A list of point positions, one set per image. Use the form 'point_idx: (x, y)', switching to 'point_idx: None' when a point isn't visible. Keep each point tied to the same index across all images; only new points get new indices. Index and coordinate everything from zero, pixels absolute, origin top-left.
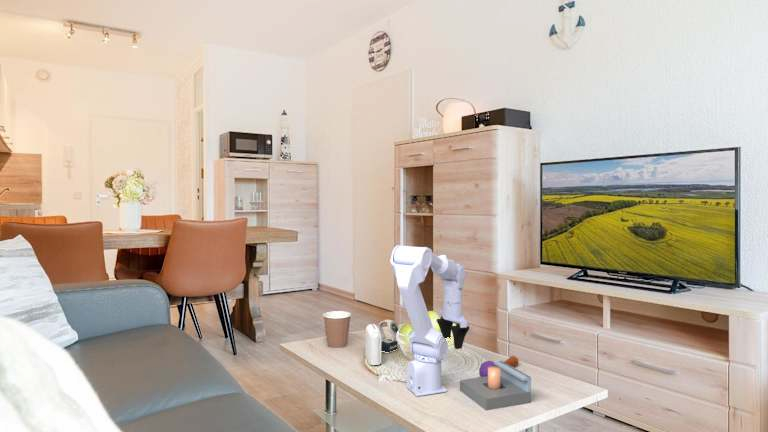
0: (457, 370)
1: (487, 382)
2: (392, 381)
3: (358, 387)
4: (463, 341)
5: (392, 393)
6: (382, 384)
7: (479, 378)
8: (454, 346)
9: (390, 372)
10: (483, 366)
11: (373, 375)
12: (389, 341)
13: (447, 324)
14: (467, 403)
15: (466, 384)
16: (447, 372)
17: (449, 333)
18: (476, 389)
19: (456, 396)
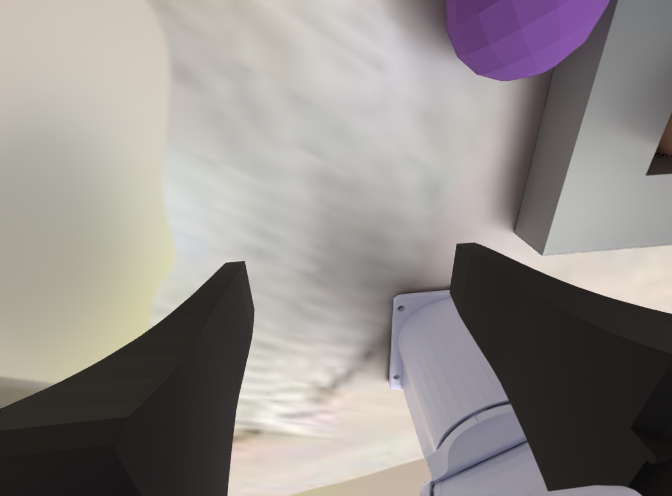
0: (278, 128)
1: (656, 135)
2: (328, 406)
3: (342, 475)
4: (522, 264)
5: None
6: (342, 430)
7: (588, 150)
8: (458, 307)
9: (238, 398)
10: (545, 62)
11: (256, 441)
12: None
13: (200, 441)
14: (621, 253)
15: (599, 248)
16: (294, 196)
17: (227, 313)
18: (669, 231)
19: (550, 265)
